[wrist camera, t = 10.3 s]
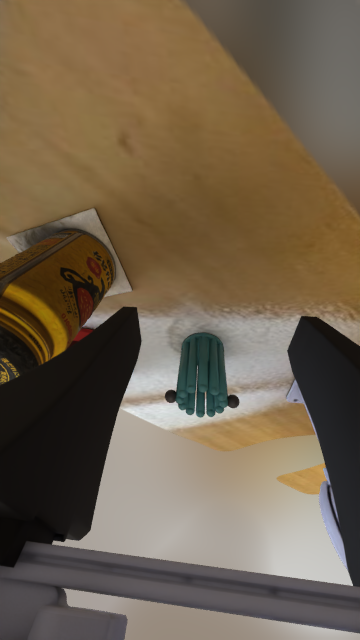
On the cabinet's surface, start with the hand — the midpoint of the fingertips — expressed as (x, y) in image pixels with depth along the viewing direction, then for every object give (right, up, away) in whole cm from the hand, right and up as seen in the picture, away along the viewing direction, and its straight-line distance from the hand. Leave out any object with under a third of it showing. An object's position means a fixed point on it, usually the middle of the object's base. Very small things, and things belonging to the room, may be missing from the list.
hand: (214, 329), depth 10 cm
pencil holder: (+1, -3, +10) cm, 11 cm away
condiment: (-11, +6, +10) cm, 16 cm away
